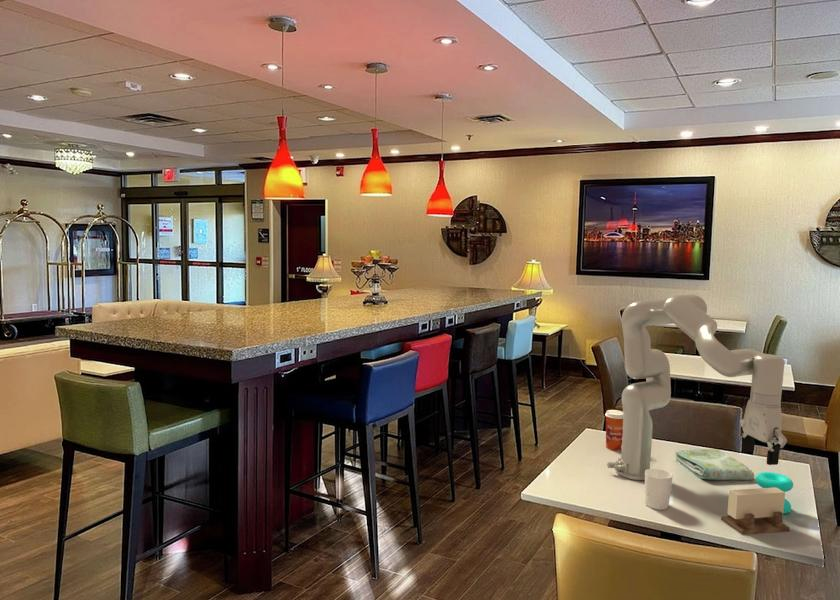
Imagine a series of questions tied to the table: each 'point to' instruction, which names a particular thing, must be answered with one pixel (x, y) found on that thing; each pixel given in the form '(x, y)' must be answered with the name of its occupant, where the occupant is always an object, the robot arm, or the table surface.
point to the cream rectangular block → (755, 502)
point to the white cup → (657, 488)
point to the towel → (713, 465)
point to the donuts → (775, 484)
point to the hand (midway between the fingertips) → (759, 457)
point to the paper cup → (614, 429)
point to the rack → (757, 523)
